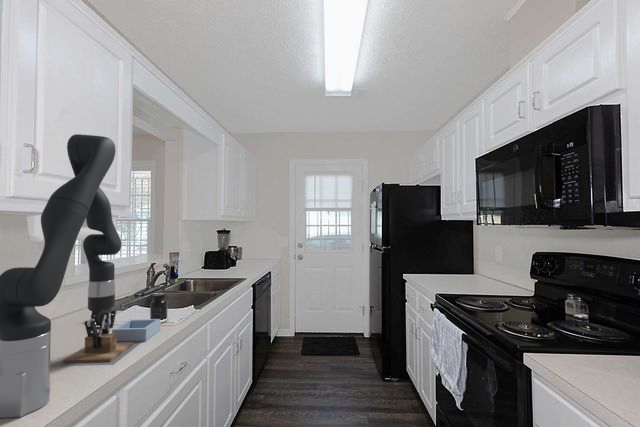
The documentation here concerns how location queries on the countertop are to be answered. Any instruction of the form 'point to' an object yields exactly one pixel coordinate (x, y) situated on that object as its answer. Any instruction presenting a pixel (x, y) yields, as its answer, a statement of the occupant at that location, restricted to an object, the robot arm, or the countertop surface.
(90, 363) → the mat
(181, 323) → the countertop surface
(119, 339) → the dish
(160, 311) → the supplement bottle
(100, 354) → the lid
